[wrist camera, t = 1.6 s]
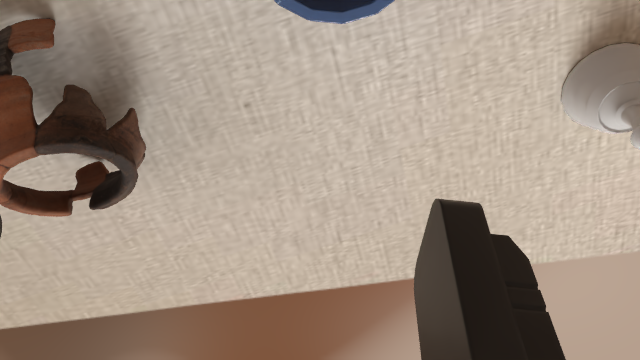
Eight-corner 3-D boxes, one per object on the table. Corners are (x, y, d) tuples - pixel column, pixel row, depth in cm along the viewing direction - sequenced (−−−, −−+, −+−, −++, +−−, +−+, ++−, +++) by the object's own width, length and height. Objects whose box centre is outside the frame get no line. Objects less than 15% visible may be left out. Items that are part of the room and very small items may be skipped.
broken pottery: (98, -13, 27) (110, 112, 23) (161, 97, 35) (177, 202, 32) (-138, 44, 26) (-165, 183, 22) (-17, 143, 35) (-22, 256, 31)
